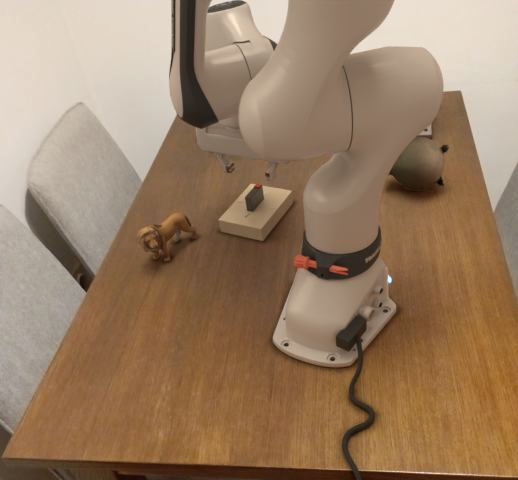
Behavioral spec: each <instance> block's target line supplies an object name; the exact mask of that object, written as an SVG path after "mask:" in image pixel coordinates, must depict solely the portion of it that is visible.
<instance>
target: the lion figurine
mask: <svg viewBox="0 0 518 480" xmlns="http://www.w3.org/2000/svg"><path fill="white" fill-rule="evenodd" d="M181 231H182V232H183V233H190V234H191V236H190V239H191V240H196V239H197V238H198V234H197V231H196V229H195V227H194V226H192V223H191V221H190V219H189V217H188V216H187V215H186V214H185V213H182V212H176V213H172V214H170V215H169V216H168V217H167V218H166V219H165V220H164V221H163V222H162V223H160V224H156V223H153V224H150V225H149V224H147V225H145V226H142V227H141V228H140V229H139V230H138V231H137V234H136V238H137V242H138V245H139V246H140V247H141V249H142V250H143V251H144V252H145V253H149V252H150V253H152V254H153V253H154V254H153V256H152V258H153V260H158V259H159V258H160V250H161V251H162V253H163V261H164V262H170V261H171V255H170V252H169V250H168V243H167V242H169V241H170V240H172V242H173V243H177V242H179V241H180V237H181V235H182V232H181ZM174 236H175V237H174Z"/></svg>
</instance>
